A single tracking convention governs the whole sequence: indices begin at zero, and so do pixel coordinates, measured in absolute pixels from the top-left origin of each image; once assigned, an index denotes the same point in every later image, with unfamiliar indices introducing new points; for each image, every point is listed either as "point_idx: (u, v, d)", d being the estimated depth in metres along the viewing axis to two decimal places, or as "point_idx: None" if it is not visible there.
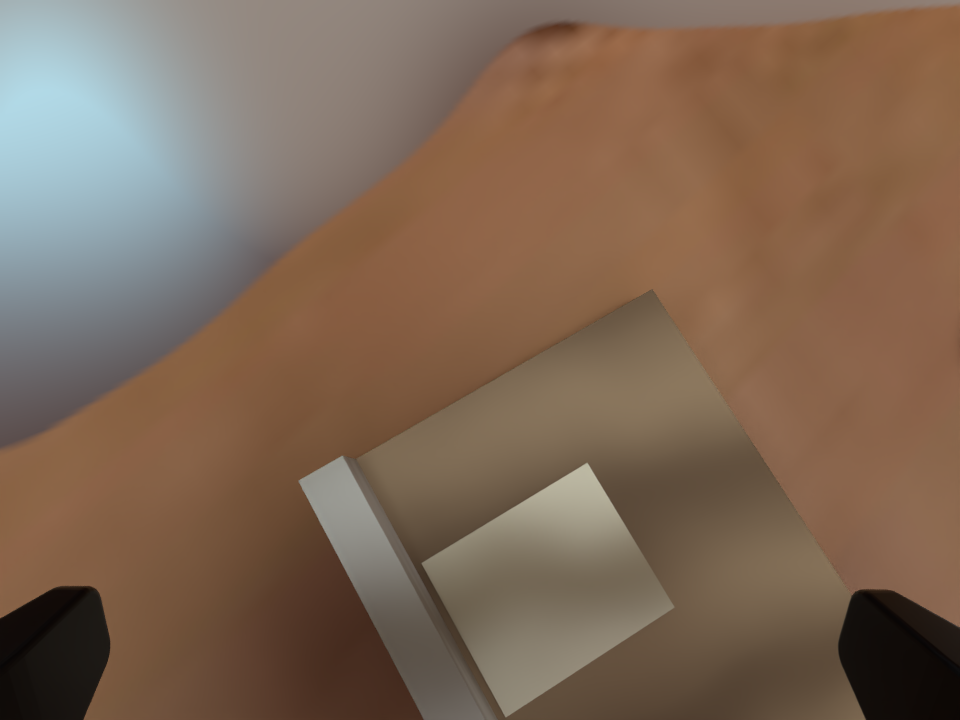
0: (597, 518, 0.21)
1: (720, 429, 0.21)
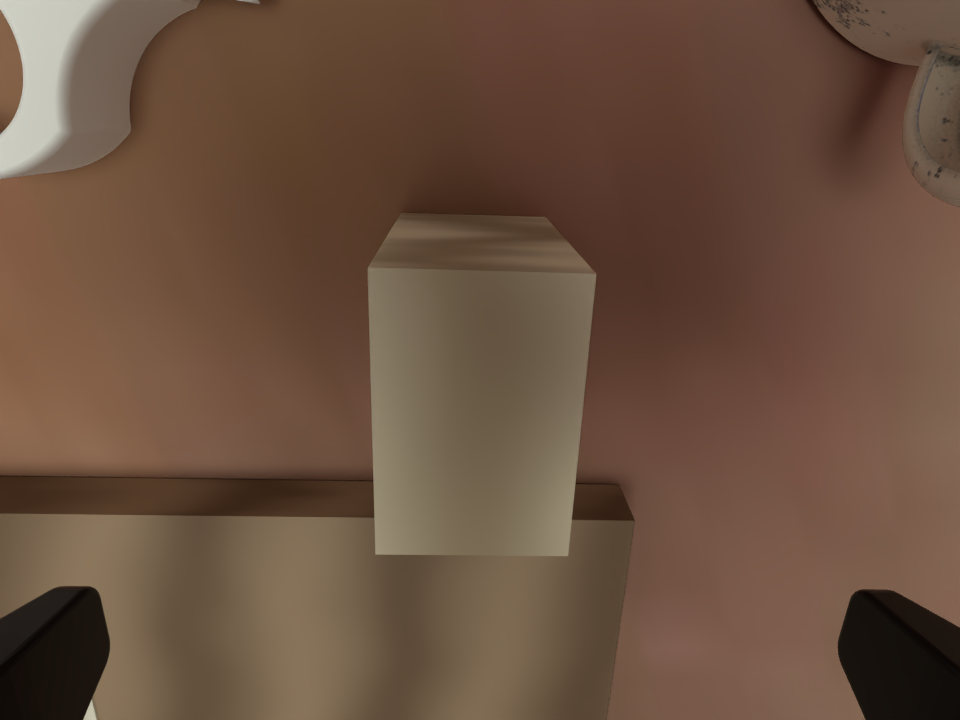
0: None
1: None
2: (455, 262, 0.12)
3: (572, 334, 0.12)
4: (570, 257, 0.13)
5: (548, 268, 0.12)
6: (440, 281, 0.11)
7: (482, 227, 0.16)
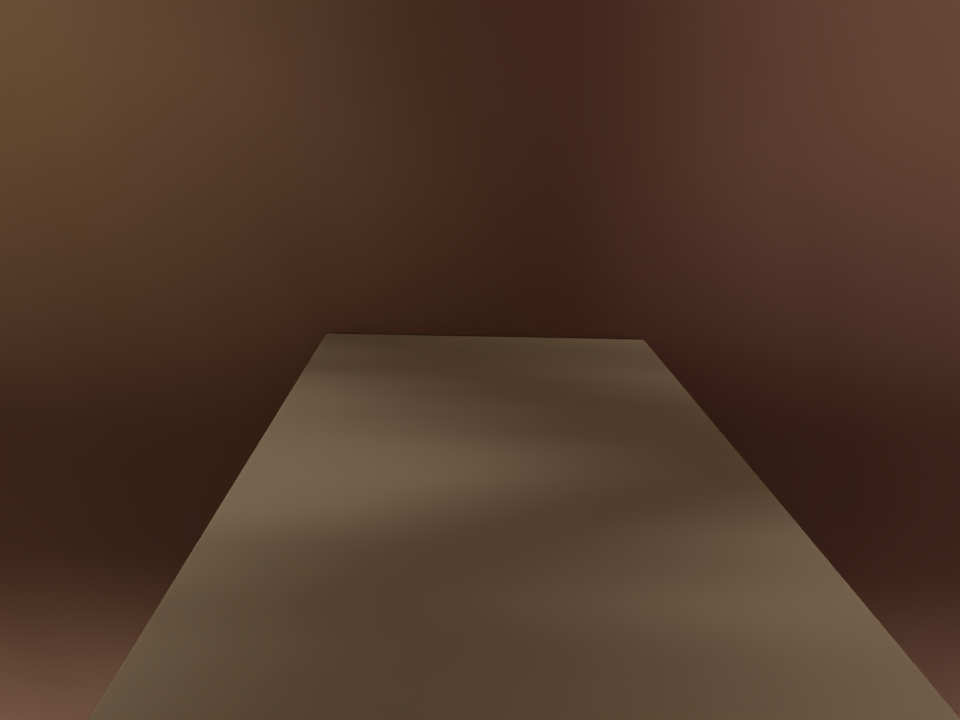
0: None
1: None
2: None
3: None
4: None
5: None
6: None
7: (513, 410, 0.06)
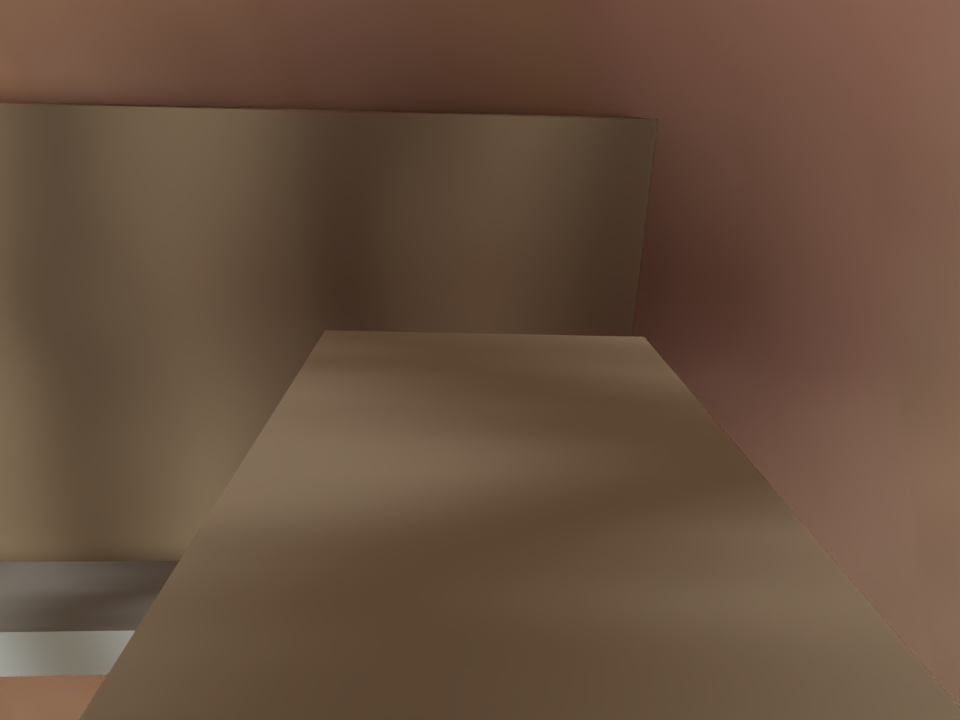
0: None
1: None
2: None
3: None
4: None
5: None
6: None
7: (513, 407, 0.06)
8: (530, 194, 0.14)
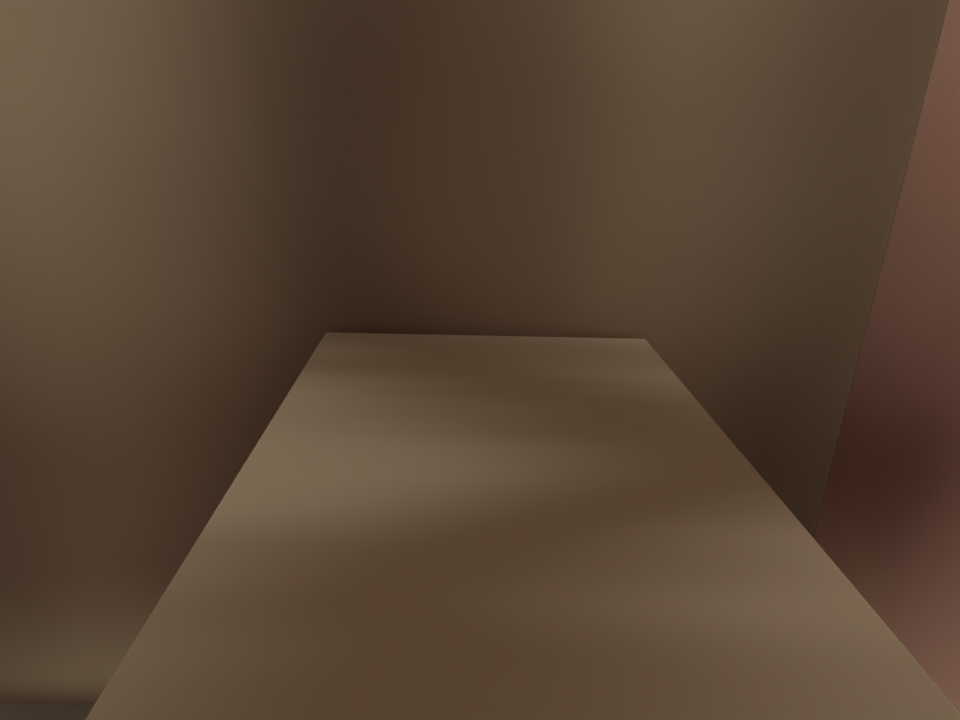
0: None
1: None
2: None
3: None
4: None
5: None
6: None
7: (514, 410, 0.06)
8: (706, 30, 0.07)
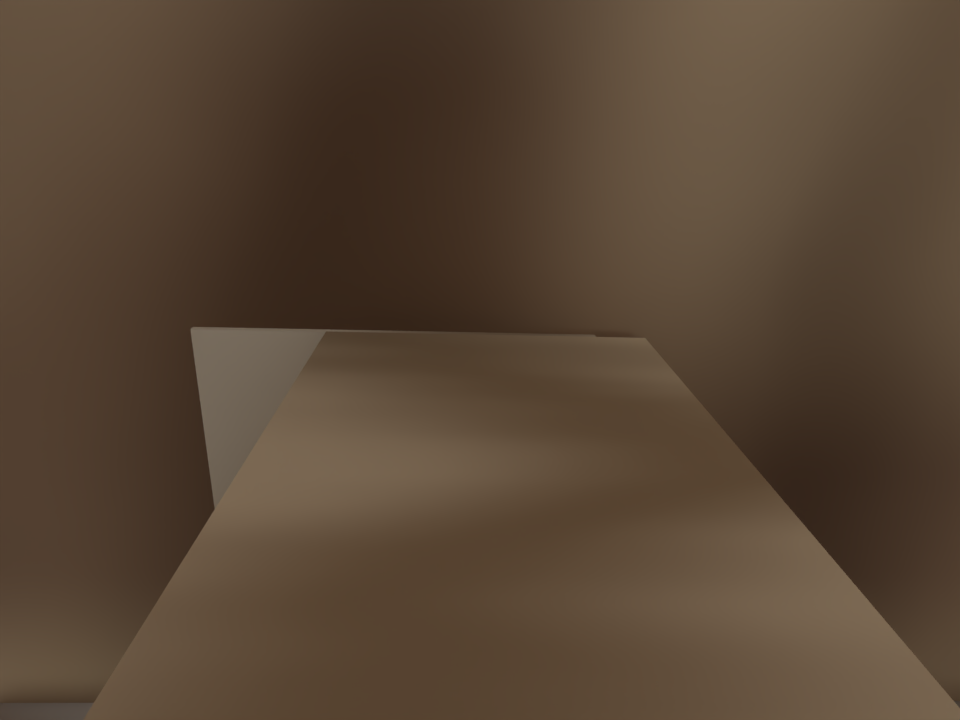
0: None
1: None
2: None
3: None
4: None
5: None
6: None
7: (514, 408, 0.06)
8: None
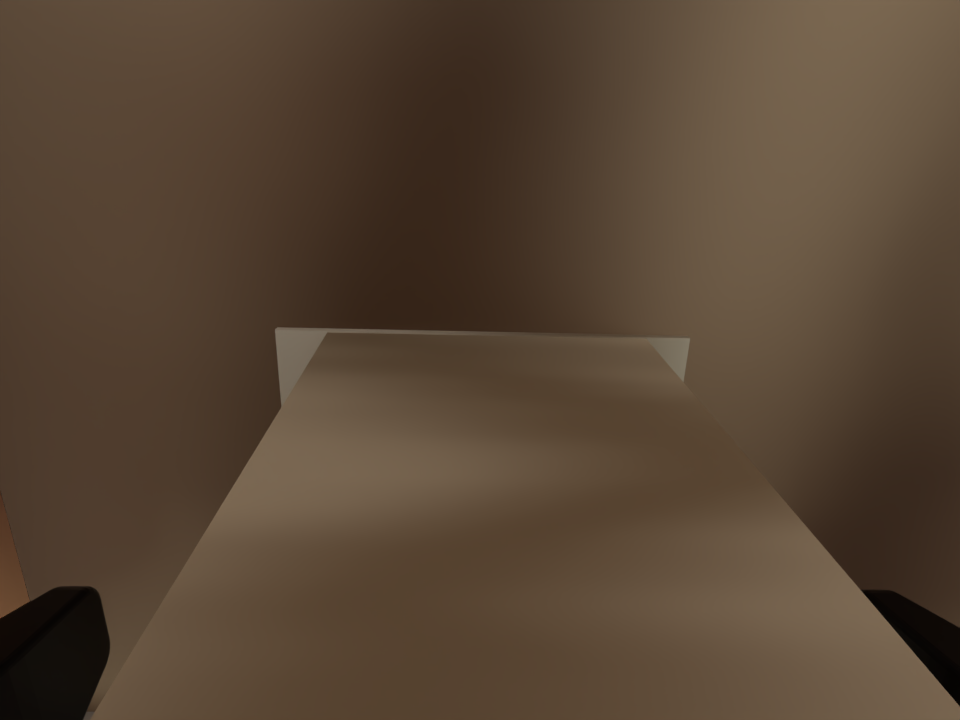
0: None
1: None
2: None
3: None
4: None
5: None
6: None
7: (516, 410, 0.06)
8: None
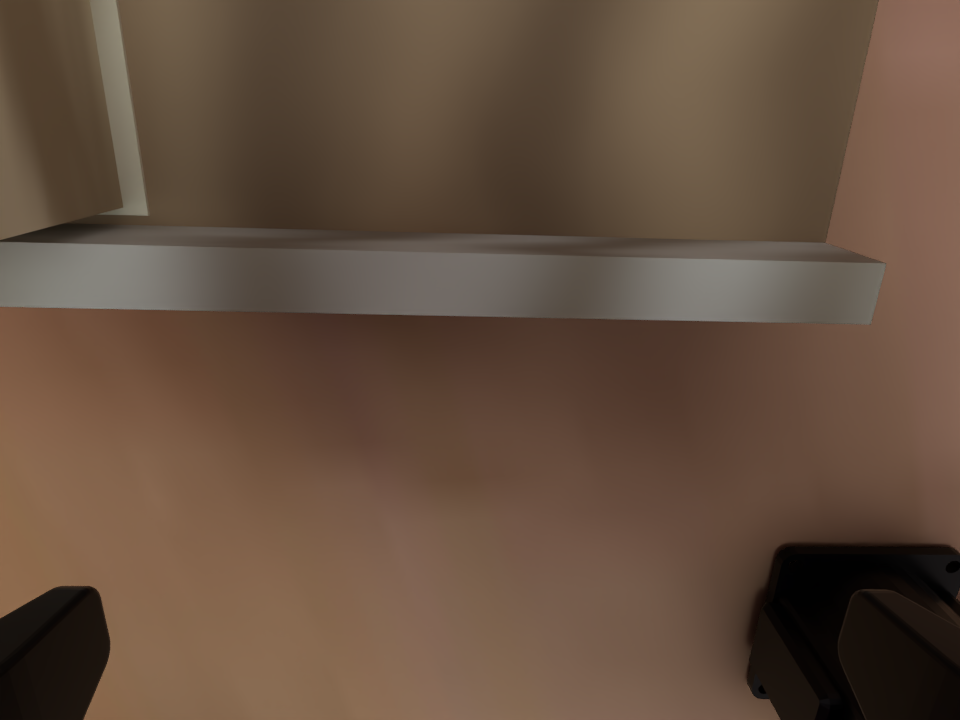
0: None
1: None
2: None
3: None
4: None
5: None
6: None
7: None
8: None
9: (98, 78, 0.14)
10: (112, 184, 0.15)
